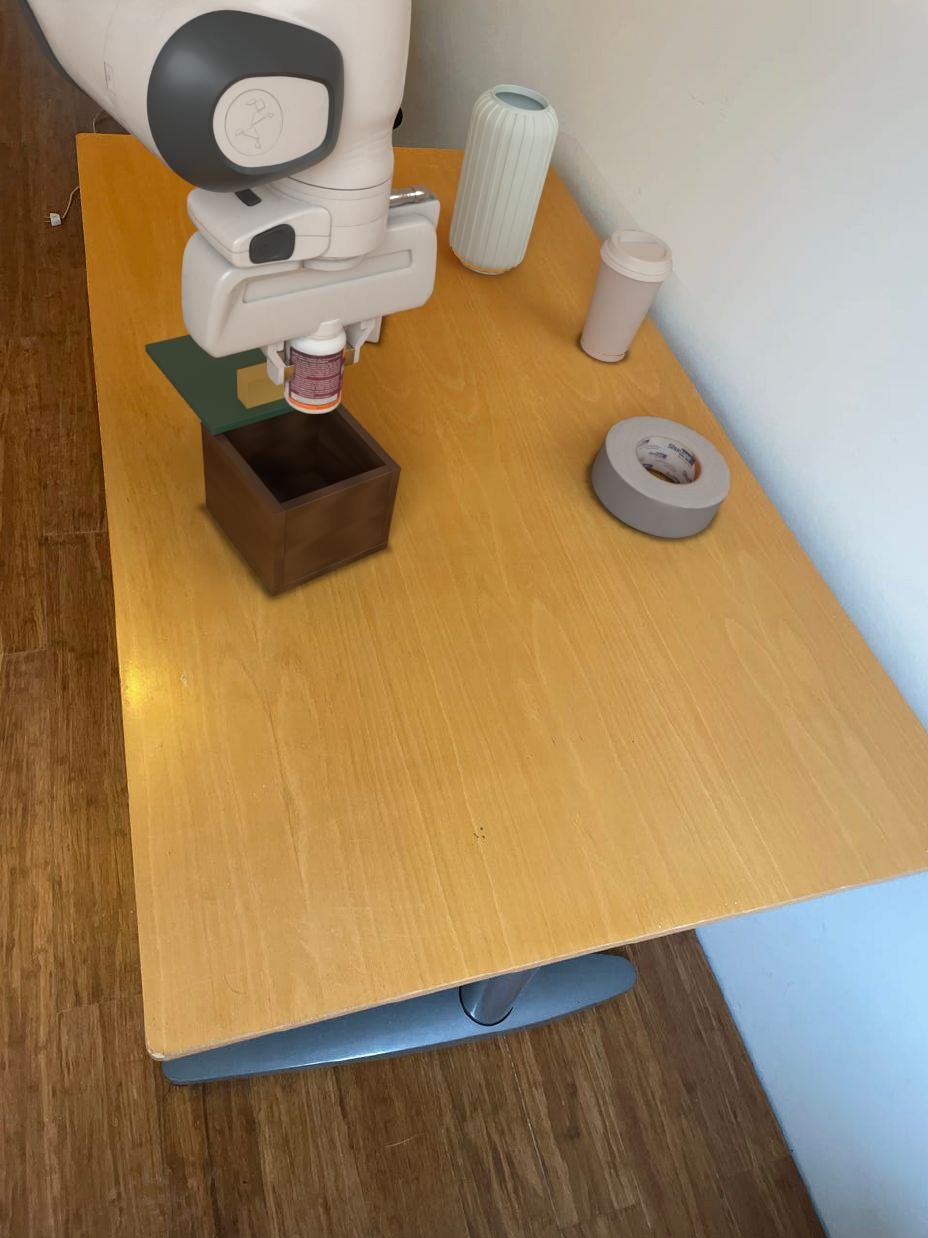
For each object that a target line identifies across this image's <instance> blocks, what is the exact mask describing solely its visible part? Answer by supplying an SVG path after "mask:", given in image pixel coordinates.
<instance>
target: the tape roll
mask: <svg viewBox="0 0 928 1238" xmlns="http://www.w3.org/2000/svg"><path fill="white" fill-rule="evenodd" d="M594 459H595V460H594V462H593V464H592V466H591V467H592V468H591V473H590V474H591V475H590V477H591V484H592V487H593V490H594V492H595V494H596V496H597V497H598V499H599V501H600V502H601V503H602V504H603V506H604V507H605V508H606V509H607V510H608V511H609V512H610V513H611V514H612V515H613V516H615V517H616V518H617V519H618V520H620V521H621V522H623V523H625V524H626V525H628V526H630V527H632V528H633V529H636V530H638V531H640V532H642V533H646V534H648V535H652V536H656V537H660V538H667V539H670V538H671V539H678V538H688V537H691V536H694V535H696V534H698V533H700V532H702V531H703V530H704V529H706V528H707V527H708V526H709V524H710V522H711V521H712V519H713V518H714V516H715V515H716V513H717V512H718V510H719V508H720V507H721V505H722V504H723V502H724V501H725V500H726V498H727V496H728V494H729V492H730V490H731V469H730V468H729V465H728V462H727V461H726V459H725V457H724V456H723V455H722V453H721V452H720V450H718V448H717V447H716V446H715V445H714V444H713V443H712V442H711V441H709V439H707V437H706V438H705V437H704V436H703V435H702V434H701V433H699V432H698V431H695V430H694V429H692V428H690V427H688V426H687V425H684V424H682V423H679V422H678V421H674V420H671V419H668V418H665V417H659V416H650V415H637V416H631V417H628V418H625V419H622V420H620V421H618V422H616V423H615V424H613V425H612V426H611V427H610V429H609V430H608V432H607V433H606V435H605V437H604V439H603V443H602V445H601V447H600V448H599V451H598V453H597V455H596V457H595V458H594ZM648 469H651V470H654V471H657V472H659V473H661V474H662V475H665V476H667V477H668V478H669V479H671V480H672V481H673V482H669V481H666V480H663V479H661V478H659V477H657V476H655V475H654V474H652V473H651V472H650V471H649V470H648Z"/></svg>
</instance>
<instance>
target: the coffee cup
mask: <svg viewBox="0 0 928 1238" xmlns="http://www.w3.org/2000/svg"><path fill="white" fill-rule="evenodd" d="M599 255H600V257H601V259H600V263H599V267H598V271H597V274H596V278H595V283H594V286H593V291H592V294H591V298H590V302H589V306H588V310H587V314H586V317H585V321H584V325H583V330H582V332H581V333H582V334H581V337H580V347H581V349H582V350H583V351H584V352H585V353H586V354H587V355H588V356H590V357H592V358H593V359H596V360H598V361H601V362H607V363H616V362H620V361H621V360H622V359H624V358H625V356H626V354H627V352H628V350H629V348H630V346H631V344H632V342H633V340H634V339H635V336H636V334H637V333H638V330H639V328H640V327H641V325H642V323H643V321H644V319H645V317H646V315H647V313H648V311H649V310H650V307H651V306H652V304H653V302H654V301H655V298H656V296H657V295H658V292H659V291H660V289H661V287H662V285H663V283H664V281H665V280H667V279H669V278H670V277H671V276H672V273H673V272H672V271H673V259H672V258H673V257H672V255H673V252H672V249H671V247H670V246H669V245H668V244H667V243H666V242H665V241H664V240H663V239H662V238H660V237H659V236H656V235H655V234H652V233H650V232H648V231H645V230H641V229H637V228H628V227H627V228H620V229H617V230H615V231H614V232H613V233H612V234H611V236H609V237H608V238H607V239H606V240H605V241H604V242H603V243H602V245H601V247H600V248H599ZM582 338H583V339H582ZM583 340H584V342H585V343H584V342H583ZM590 348H591V349H592V350H591V349H590ZM593 350H594V351H593ZM626 351H627V352H626ZM597 352H598V353H597ZM625 352H626V353H625ZM599 353H600V354H599ZM624 353H625V354H624ZM602 354H606V355H621V354H623V355H621V356H606V355H602Z"/></svg>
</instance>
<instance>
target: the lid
mask: <svg viewBox="0 0 928 1238" xmlns="http://www.w3.org/2000/svg"><path fill="white" fill-rule="evenodd" d="M144 349H145V351H144V352H145V353H146V354H147V355H148V357H149V358H150V359H151V361H152V362H153V363H154V364H155V366H156V367H157V368H158V369H159V370H160V372H161V373H162V374H163V375H164V377H165V378H166V379H167V380H168V382H169V383H170V384H171V386H172V387H173V388H174V389H175V390H176V392H177V393H178V394H179V395H180V397H181V398H182V399H183V400H184V402H185V403H186V404H187V405H188V406H189V408H190V409H191V410H192V411H193V413H194V414H195V415H196V417H197V418H198V419H199V420H200V422H201V421H202V423H203V424H204V425H205V426H206V427H207V429H208V430H209V431H210V432H211V434H212V435H216V434H219V433H223V432H226V431H229V430H232V429H236V428H239V427H242V426H245V425H249V424H252V423H255V422H259V421H262V420H265V419H268V418H272V417H275V416H278V415H282V414H285V413H288V412H291V411H295V410H297V409H295V408H293V407H292V406H291V405H289V403H288V402H287V401H286V399H285V396H284V384H281V385H275V383H274V382H273V381H272V380H271V379H270V378H269V376H268V374H267V357H266V356H265V355H264V353H263V352H262V350H261V349H260V348H255V349H251V350H247V351H243V352H239V353H235V354H231V355H228V356H224V357H219V358H215V357H213V356H211V355H210V354H208V353H207V352H206V351H205V350H203V349H202V348H201V347H200V346H199V345H198V344H197V343H196V342H195V341H194V339H193V338H192V337H191V335H190V334H189V333H188V334H186V335H181V336H176V337H173V338H167V339H163V340H159V341H156V342H150V343H147V344H144ZM280 352H284V353H285V341H284V349H283V350H282V351H277V353H280Z"/></svg>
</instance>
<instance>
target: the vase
mask: <svg viewBox="0 0 928 1238" xmlns="http://www.w3.org/2000/svg"><path fill="white" fill-rule="evenodd" d="M559 125H560V123H559V119H558V115H557V112H556V111H555V109H554V107H553V106H552V105H551V104H550V101H549V100H548V99H547V97H545V96H544V95H543V94H541V93H539V92H537V91H536V90H533V89H532V88H528V87H525V86H522V85H517V84H509V83H503V84H497V85H495V86H494V87H493V86H492V87H491V88H489V89H488V90H485V91H484V92H482V93H481V94H480V95H479V97H478V98H477V99H476V101H475V103H474V105H473V108H472V112H471V117H470V122H469V128H468V133H467V139H466V144H465V149H464V155H463V159H462V163H461V164H462V165H461V170H460V175H459V180H458V186H457V191H456V195H455V196H456V197H455V201H454V207H453V211H452V217H451V222H450V227H449V233H448V243H449V246H450V245H451V246H452V249H451V251H452V250H453V251H455V252H456V253H457V255H458V256H459V257H461V258H462V259H464V261H465V262H469V263H471V264H472V265H473V266H479V267H481V268H483V269H485V268H487V269H491V270H500V271H501V270H504V269H511V268H512V267H515V268H517V267H518V266H519V265H520V264H521V263H522V262H523V260H524V257H525V255H526V253H527V249H528V245H529V241H530V238H531V233H532V231H533V226H534V222H535V219H536V216H537V211H538V207H539V204H540V200H541V197H542V193H543V189H544V186H545V182H546V179H547V175H548V171H549V167H550V164H551V160H552V157H553V153H554V149H555V146H556V142H557V137H558V134H559V130H560V129H559V128H560V126H559ZM453 251H452V252H453ZM459 262H460V263H461V264H462V265H463V266H465V267H466V268H467V269H469V270H471V271H473V272H476V273H479V274H481V275H488V276H489V275H491V276H493V275H501V274H504V273H505V272H504V271H503V272H501V273H497V272H493V273H490V272H488V271H481V270H479V269H474V268H472V267H470V266H469V265H468V266H467V265H466V264H465V263H464V262H463V261H460V260H459ZM518 264H519V265H518ZM469 267H470V268H469ZM510 271H511V270H509V271H508V272H510Z"/></svg>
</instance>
